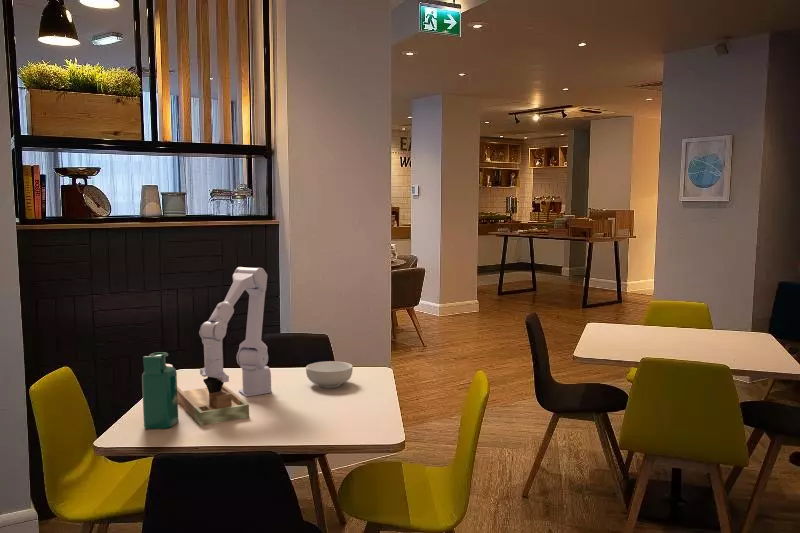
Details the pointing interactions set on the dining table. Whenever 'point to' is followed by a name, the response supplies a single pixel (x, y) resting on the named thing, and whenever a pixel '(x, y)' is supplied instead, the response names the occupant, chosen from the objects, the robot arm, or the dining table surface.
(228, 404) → the block
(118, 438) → the dining table surface
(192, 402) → the trap box
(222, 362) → the robot arm
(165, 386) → the green bottle
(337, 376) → the cereal bowl
